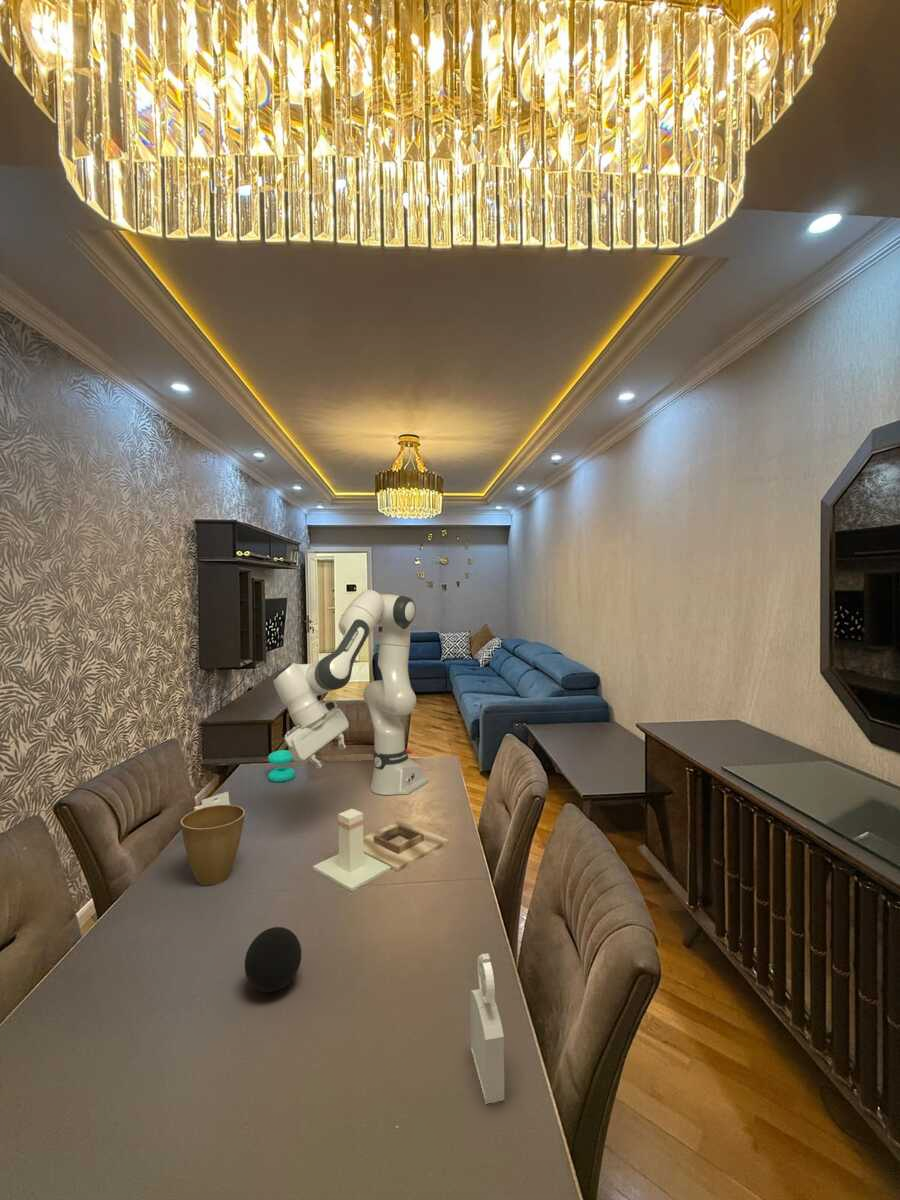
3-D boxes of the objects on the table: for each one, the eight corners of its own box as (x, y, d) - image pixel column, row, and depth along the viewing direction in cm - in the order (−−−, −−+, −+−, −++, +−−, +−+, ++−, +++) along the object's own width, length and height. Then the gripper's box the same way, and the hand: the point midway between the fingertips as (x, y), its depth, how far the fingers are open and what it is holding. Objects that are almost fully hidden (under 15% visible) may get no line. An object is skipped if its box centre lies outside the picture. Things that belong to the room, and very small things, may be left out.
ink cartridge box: (222, 836, 158) (221, 787, 158) (231, 840, 155) (230, 791, 155) (193, 847, 151) (192, 796, 151) (202, 852, 148) (201, 800, 148)
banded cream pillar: (352, 860, 142) (352, 808, 141) (364, 865, 139) (363, 813, 138) (338, 867, 138) (337, 814, 138) (349, 873, 135) (349, 819, 135)
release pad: (351, 850, 149) (351, 847, 149) (390, 869, 138) (390, 866, 138) (312, 869, 139) (312, 866, 139) (351, 891, 128) (351, 888, 128)
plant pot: (222, 897, 127) (221, 831, 126) (168, 890, 130) (166, 826, 129) (257, 865, 141) (256, 805, 141) (207, 860, 144) (206, 801, 144)
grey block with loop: (487, 1045, 85) (486, 935, 85) (504, 1101, 76) (503, 977, 75) (470, 1048, 84) (469, 937, 84) (485, 1104, 75) (484, 980, 75)
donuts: (296, 754, 203) (269, 758, 199) (297, 780, 203) (269, 784, 199) (292, 747, 212) (266, 751, 208) (293, 772, 212) (267, 776, 208)
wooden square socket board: (399, 823, 166) (399, 814, 165) (448, 843, 152) (448, 833, 152) (348, 847, 150) (348, 837, 150) (397, 871, 137) (397, 860, 137)
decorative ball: (309, 967, 103) (308, 916, 103) (289, 1008, 93) (288, 952, 93) (260, 964, 104) (259, 914, 104) (234, 1004, 94) (233, 948, 94)
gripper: (288, 732, 143) (312, 776, 144) (338, 698, 160) (361, 738, 160) (275, 737, 147) (300, 780, 147) (326, 703, 163) (348, 742, 164)
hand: (332, 758), depth 154 cm, fingers open, 8 cm apart
